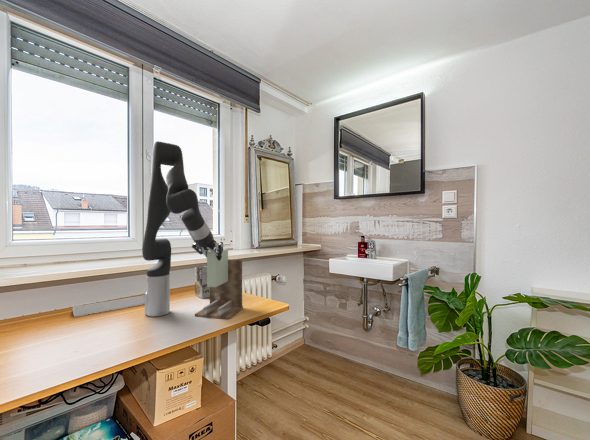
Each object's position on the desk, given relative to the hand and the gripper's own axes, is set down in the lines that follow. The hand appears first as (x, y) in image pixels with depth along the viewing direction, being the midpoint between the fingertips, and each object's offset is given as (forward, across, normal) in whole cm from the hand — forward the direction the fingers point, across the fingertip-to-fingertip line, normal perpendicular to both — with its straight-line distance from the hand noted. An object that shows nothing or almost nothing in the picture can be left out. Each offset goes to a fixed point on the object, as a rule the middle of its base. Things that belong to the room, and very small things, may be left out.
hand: (215, 258), depth 125 cm
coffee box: (+36, +21, -2) cm, 42 cm away
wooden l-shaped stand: (+21, 0, +15) cm, 25 cm away
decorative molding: (+19, +53, +17) cm, 58 cm away
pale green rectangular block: (+10, 0, +6) cm, 12 cm away
